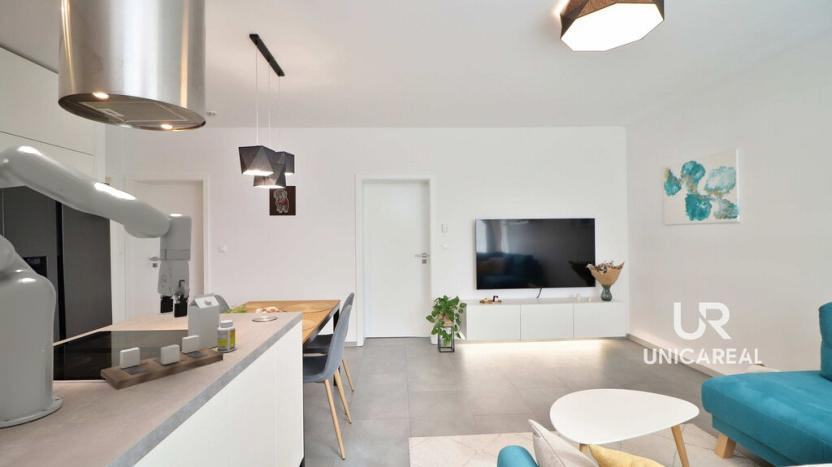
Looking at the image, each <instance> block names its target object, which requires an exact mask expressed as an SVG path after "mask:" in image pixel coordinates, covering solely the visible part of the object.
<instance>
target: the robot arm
mask: <svg viewBox="0 0 832 467" xmlns="http://www.w3.org/2000/svg"><path fill="white" fill-rule="evenodd" d="M23 186H25V187H28V188H30V189H31V190H34V191H35V192H38V193H40V194H43V195H44V196H46V197H49V198H50V199H52V200H55V201H57V202H59V203H61V204H63V205H66V206H67V207H69V208H72V209H74V210H77V211H80V212H83V213H87V214H91V215H96V216H100V217H102V218H105V219H109V220H111V221H114V222H116V223H118V224H121V225H122V226H123V228H124V230H125V231H126V233H127V234H128V235H130V236H131V237H133V238H137V239H157V238H159V239H160V241H159V242H160V243H159V245H160V246H159V262H160V265H159V269H158V270H159V271H158V279H157V280H158V281H157V289H156V290H157V293H158V294H160V297H159V298H160V304H159V306H160V308H159V313H160V314H167V313H172V312H173V313H174V314H173V317H174V318H176V319H177V318H184V317H188V306H189V297H190V290H191V288H190V268H189V267H190V266H189V261H191V252H192V251H191V250H192V224H193V223H192V222H193V221H192V217H191V216H190V215H189V214H185V213H164V212H162V211H161V210H160V209H157V208H155V207H153V206H152V205H151V204H148V203H146V202H144V201H143V200H141V199H140V198H137V197H135V196H133V195H131V194H128V193H126V192H124V191H122V190H119V189H118V188H115V187H113V186H111V185H109V184H106V183H104V182H102V181H99V180H98V179H95V177H92V176H90V175H88V174H87V173H84V172H83V171H81V170H79V169H77V168H75V167H73V166H71V165H70V164H68V163H66V162H65V161H62V160H61V159H58V158H57V157H55V156H53V155H52V154H49V153H48V152H46V151H44V150H41V149H40V148H38V147H34V146H32V145H27V144H17V145H15V144H14V145H12V146H8V147H7V148H5V149H3V150H0V189H5V188H13V187H14V188H15V187H23ZM174 300H175V303H174ZM56 302H57V291H56V289H55V286H54V284H53V283H52V281H50V280H49V279H48V278H47V277H46V276H43V275H42V274H41V275H40V274H38V273H37V272H36V271H35V270H34V269H33V268H32V267H31V266H30V265H29V264H28V263H27V262H26V261H25V260H24V259H23V258H22V257H21V256H20V255H19V254H18V252H17V251H16V249H15V247H14V245H13V244H12V243H11V241H10V240H9V239H7V238H5V237H4V236H2V234H0V428H6V427H7V428H8V427H11V426H17V425H20V424H25V423H28V422H32V421H35V420H37V419H38V420H39V419H40V418H42V417H46V416H47V415H49V414H51V413H53V412H56V411H57V410H58V409H60V408H61V406H63V405H62V404H63V399H62V398H61V397H59V396H54V323H55V322H54V321H55V311H56V306H57V305H56Z"/></svg>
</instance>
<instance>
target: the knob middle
mask: <svg viewBox="0 0 832 467" xmlns="http://www.w3.org/2000/svg"><path fill="white" fill-rule="evenodd" d="M180 347H181V346H180V345H179V344H171V345H167V346H163V347H160V356H161V363H162V364H164V365H165V364H169V363H173V362H177V361H179V357H180V351H181V350H180V349H181V348H180Z"/></svg>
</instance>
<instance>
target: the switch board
mask: <svg viewBox="0 0 832 467" xmlns="http://www.w3.org/2000/svg"><path fill="white" fill-rule="evenodd" d="M223 360H224V353H223V352H218V350H217V351H216V350H214V349H212V348H207V347H204V346H201V347H199V350H197V351H193V352H189V353H184V352H182V350H180V357H179V361H177V362H173V363H169V364H165V365H164V364H162V363H161V355H159V356H155V357H150V358H147V359H140V364H139V365H135V366H130V367H126V368H121V367H120V365H116V366H112V367H108V368H105V369H104V368H103V369H101V370H100V377H101V376H102V377H103V378H105V379H106V381H105V382H106V383H108V384H110V386H112V387H113V388H114V389H116V390H120V389H124V388H127V387H131V386H135V385H139V384H142V383H145V382H149V381H153V380H157V379H160V378H163V377H168V376H170V375H174V374H178V373H181V372H184V371H188V370H189V371H190V370H192V369H196V368H199V367H204V366H207V365H210V364H214V363H217V362H222V361H223ZM102 377H101V378H102ZM103 378H102V379H103Z"/></svg>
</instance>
